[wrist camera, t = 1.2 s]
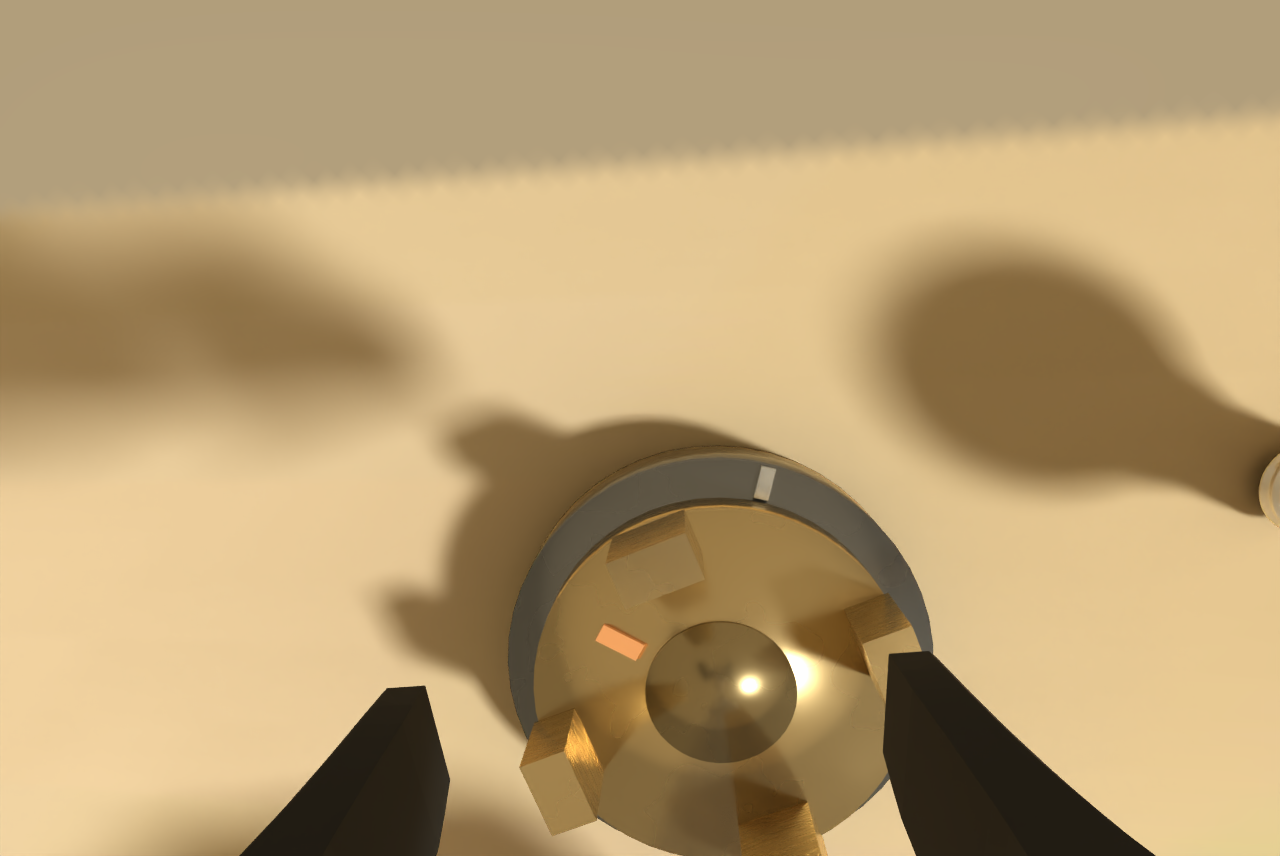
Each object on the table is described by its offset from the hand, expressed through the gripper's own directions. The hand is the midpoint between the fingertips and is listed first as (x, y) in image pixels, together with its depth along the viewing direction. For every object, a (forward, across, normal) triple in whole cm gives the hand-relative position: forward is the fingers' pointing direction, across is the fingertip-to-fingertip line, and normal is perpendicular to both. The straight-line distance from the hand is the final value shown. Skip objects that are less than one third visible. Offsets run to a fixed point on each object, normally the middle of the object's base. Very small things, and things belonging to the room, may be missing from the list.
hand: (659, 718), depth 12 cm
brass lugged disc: (+8, -1, +6) cm, 10 cm away
